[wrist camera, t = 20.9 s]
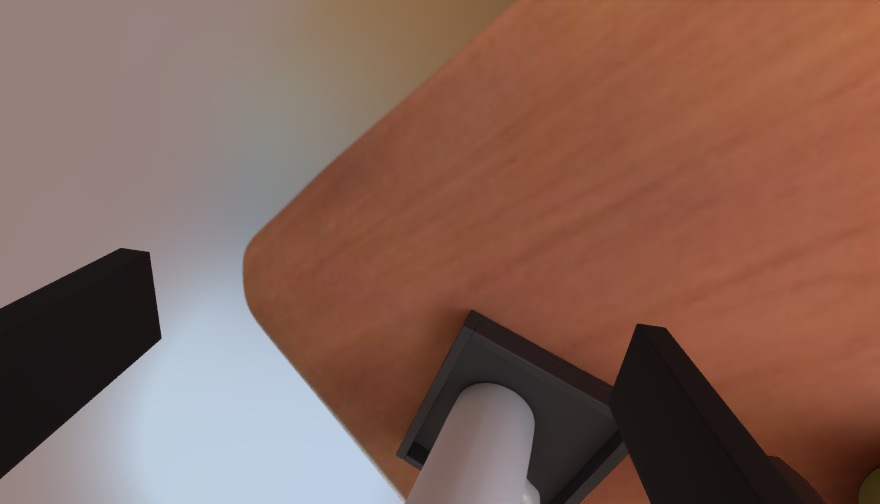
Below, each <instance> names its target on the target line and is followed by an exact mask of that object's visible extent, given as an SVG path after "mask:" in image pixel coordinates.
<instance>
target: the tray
mask: <svg viewBox="0 0 880 504" xmlns="http://www.w3.org/2000/svg"><path fill="white" fill-rule="evenodd" d="M478 383H493V384H498V385H501V386H504V387H506V388H508V389H510V390H512V391H514V392H515V393H517V394H518V395H519V396H520V397H521V398H522V399H523V400H524V401H525V402H526V403H527V404H528V406H529V407H530V409H531V411H532V413H533V416H534V421H535V428H534V435H533V442H532V449H531V454H530V460H529V465H528V471H527V476H526V478H527V479H528V481H529V482H530V483H531V484H532V485H533V486H534V487H535V488H536V489H537V490H538V492H539V495H540V504H579V503H580V502H581V501H582V500H583V499H584V498H585V497H586V496H587V495H588V494H589V493H590V492H591V491H592V490H593V489H594V488H595V487H596V486H597V485H598V484H599V483H600V482H601V481H602V480H603V479H604V478H605V477H606V476H607V475H608V474H609V473H610V472H611V471H612V470H613V469H614V468H615V467H616V466H617V465H618V464H619V463H620V462H621V461H622V460H623V459H624V458H625V457H626V456H627V455H628V454H629V452H628V450H627V447H626V445H625V443H624V441H623V438H622V436H621V434H620V431H619V429H618V427H617V424H616V422H615V420H614V418H613V415H612V413H611V411H610V408H609V406H608V404H607V403H608V400H609V398H610V395H611V392H612V390H613V387H611V386H609V385H607V384H606V383H604V382H602V381H600V380H598V379H597V378H595V377H593V376H591V375H589V374H588V373H586V372H584V371H582V370H580V369H578V368H577V367H575V366H573V365H571V364H569V363H568V362H566V361H564V360H562V359H560V358H559V357H557V356H555V355H553V354H551V353H549V352H548V351H546V350H544V349H542V348H540V347H539V346H537V345H535V344H533V343H531V342H529V341H528V340H526V339H524V338H522V337H520V336H519V335H517V334H515V333H513V332H511V331H510V330H508V329H506V328H504V327H502V326H500V325H499V324H497V323H495V322H493V321H491V320H490V319H488V318H486V317H484V316H482V315H481V314H479V313H477V312H475V311H473V310H472V311H471V312H470V314H469V316H468V318H467V320H466V321H465V323H464V325H463V327H462V329H461V330H460V332H459V334H458V336H457V338H456V340H455V342H454V344H453V346H452V348H451V350H450V352H449V353H448V355H447V357H446V359H445V361H444V363H443V365H442V367H441V369H440V371H439V373H438V375H437V376H436V378H435V380H434V382H433V384H432V386H431V388H430V390H429V392H428V394H427V396H426V397H425V399H424V401H423V403H422V405H421V407H420V409H419V411H418V413H417V415H416V417H415V419H414V420H413V422H412V424H411V426H410V428H409V430H408V432H407V434H406V436H405V438H404V440H403V442H402V443H401V445H400V447H399V449H398V451H397V453H396V456H398V457H400V458H401V459H404V461H406V462H408V463H409V464H411V465H412V466H414V467H416V468H417V469H419V470H420V471H421V470H422V468H423V466H424V464H425V462H426V460H427V458H428V456H429V454H430V452H431V450H432V448H433V446H434V444H435V442H436V440H437V438H438V436H439V434H440V432H441V429H442V427H443V425H444V423H445V421H446V419H447V417H448V415H449V413H450V411H451V409H452V408H453V406H454V404H455V402H456V400H457V398H458V396H459V395H460V393H461V392H462V391H463V390H464V389H466V388H467V387H469V386H471V385H474V384H478Z"/></svg>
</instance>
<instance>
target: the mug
mask: <svg viewBox="0 0 880 504" xmlns="http://www.w3.org/2000/svg"><path fill="white" fill-rule="evenodd" d="M534 428H535V421H534V416H533V413H532V411H531V409H530V407H529V406H528V404H527V403H526V402H525V401H524V400H523V399H522V398H521V397H520V396H519V395H518V394H517V393H515V392H514V391H512V390H510V389H508V388H506V387H504V386H501V385H498V384H493V383H478V384H474V385H471V386H469V387H467V388H466V389H464V390H463V391H462V392H461V393H460V395H459V396H458V398H457V400H456V402H455V404H454V406H453V408H452V409H451V411H450V413H449V415H448V417H447V419H446V421H445V423H444V425H443V427H442V429H441V432H440V434H439V436H438V438H437V440H436V442H435V444H434V446H433V448H432V450H431V452H430V454H429V456H428V458H427V460H426V462H425V464H424V466H423V468H422V470H421V472H420V474H419V476H418V478H417V480H416V482H415V484H414V486H413V488H412V490H411V492H410V494H409V496H408V498H407V500H406V502H405V504H540V495H539V492H538V490H537V489H536V488H535V487H534V486H533V485H532V484H531V483H530V482H529V481H528V479H527V478H526V476H527V471H528V465H529V460H530V454H531V449H532V442H533V435H534Z"/></svg>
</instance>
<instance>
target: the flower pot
mask: <svg viewBox="0 0 880 504" xmlns="http://www.w3.org/2000/svg"><path fill="white" fill-rule="evenodd" d="M859 504H880V467H879V468H877V469H875V470H874V471H873V472H872V473H871V474H869V475H868V477H867V478H866V479H865V480H864V482H863V483H862V485H861V487H860V490H859Z"/></svg>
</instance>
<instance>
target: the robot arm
mask: <svg viewBox="0 0 880 504" xmlns="http://www.w3.org/2000/svg"><path fill="white" fill-rule="evenodd" d="M160 339H161V331H160V324H159V317H158V310H157V303H156V295H155V288H154V282H153V274H152V267H151V260H150V253H149V252H145V251H138V250H131V249H125V248H120V249H118V250H116V251H114V252H112V253H110V254H108V255H106V256H104V257H102V258H100V259H98V260H96V261H94V262H92V263H90V264H88V265H86V266H84V267H82V268H80V269H78V270H76V271H74V272H72V273H70V274H68V275H66V276H64V277H62V278H60V279H58V280H56V281H54V282H53V283H50V284H48V285H46V286H44V287H42V288H41V289H38V290H36V291H34V292H32V293H30V294H29V295H27V296H25V297H23V298H20V299H18V300H16V301H14V302H13V303H11V304H9V305H7V306H5V307H3V308H1V309H0V479H1V478H2V477H3V476H4V475H6V474H7V473H8V472H9V471H10V470H11V469H12V468H13V467H15V466H16V465H17V464H18V463H19V462H20V461H22V460H23V459H24V458H25V457H26V456H27V455H28V454H30V453H31V452H32V451H33V450H34V449H35V448H37V447H38V446H39V445H40V444H41V443H42V442H43V441H44V440H46V439H47V438H48V437H49V436H50V435H51V434H53V433H54V432H55V431H56V430H57V429H58V428H59V427H61V426H62V425H63V424H64V423H65V422H66V421H67V420H69V419H70V418H71V417H72V416H73V415H74V414H76V413H77V412H78V411H79V410H80V409H81V408H82V407H83V406H85V405H86V404H87V403H88V402H89V401H90V400H92V398H94V397H95V396H96V395H97V394H98V393H100V392H101V391H102V390H103V389H104V388H105V387H106V386H108V385H109V384H110V383H111V382H112V381H113V380H114V379H116V378H117V377H118V376H119V375H120V374H121V373H123V372H124V371H125V370H126V369H127V368H128V367H129V366H131V365H132V364H133V363H134V362H135V361H136V360H138V359H139V358H140V357H141V356H142V355H143V354H144V353H145V352H147V351H148V350H149V349H150V348H151V347H152V346H154V345H155V344H156V343H157V342H158V341H159V340H160ZM607 404H608V406H609V408H610V411H611V413H612V415H613V418H614V420H615V422H616V424H617V427H618V429H619V431H620V434H621V436H622V438H623V441H624V443H625V445H626V447H627V450H628V452H629V454H630V457H631V459H632V461H633V464H634V466H635V468H636V470H637V473H638V475H639V477H640V480H641V482H642V484H643V487H644V489H645V491H646V493H647V496H648V498H649V500H650V503H651V504H827V503H826V502H825V501H824V500H823V499H822V497H821V496H820V495H819V494H818V493H817V492H816V490H815V489H814V488H813V487H812V486H811V484H810V483H809V482H808V481H807V480H806V479H804V478H803V477H802V476H801V475H800V474H798V473H797V472H796V471H795V470H793V469H792V468H791V467H790V466H789V465H787V464H786V463H785V462H784V461H783V460H781V459H780V458H779V457H774V456H767V455H766V454H765V452H764V451H763V450H762V449H761V447H760V446H759V445H758V444H757V442H756V441H755V440H754V439H753V437H752V436H751V435H750V433H749V432H748V431H747V430H746V428H745V427H744V426H743V425H742V423H741V422H740V421H739V420H738V418H737V417H736V416H735V415H734V413H733V412H732V411H731V410H730V408H729V407H728V406H727V405H726V403H725V402H724V401H723V399H722V398H721V397H720V396H719V394H718V393H717V392H716V391H715V389H714V388H713V387H712V386H711V384H710V383H709V382H708V381H707V379H706V378H705V377H704V376H703V374H702V373H701V372H700V371H699V369H698V368H697V367H696V366H695V364H694V363H693V362H692V360H691V359H690V358H689V357H688V355H687V354H686V353H685V352H684V350H683V349H682V348H681V347H680V345H679V344H678V343H677V342H676V340H675V339H674V338H673V337H672V335H671V334H670V333H669V332H668V330H667V329H666V328H664V327H658V326H651V325H644V324H637V325H636V328H635V330H634V333H633V336H632V339H631V341H630V344H629V347H628V349H627V352H626V355H625V357H624V360H623V363H622V365H621V368H620V371H619V374H618V376H617V379H616V382H615V384H614V387H613V390H612V392H611V395H610V398H609V400H608V403H607Z"/></svg>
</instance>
